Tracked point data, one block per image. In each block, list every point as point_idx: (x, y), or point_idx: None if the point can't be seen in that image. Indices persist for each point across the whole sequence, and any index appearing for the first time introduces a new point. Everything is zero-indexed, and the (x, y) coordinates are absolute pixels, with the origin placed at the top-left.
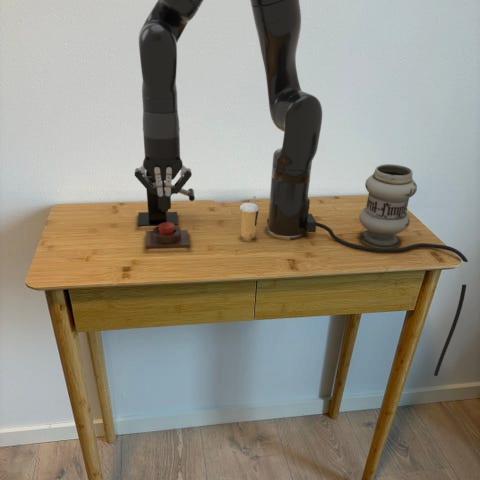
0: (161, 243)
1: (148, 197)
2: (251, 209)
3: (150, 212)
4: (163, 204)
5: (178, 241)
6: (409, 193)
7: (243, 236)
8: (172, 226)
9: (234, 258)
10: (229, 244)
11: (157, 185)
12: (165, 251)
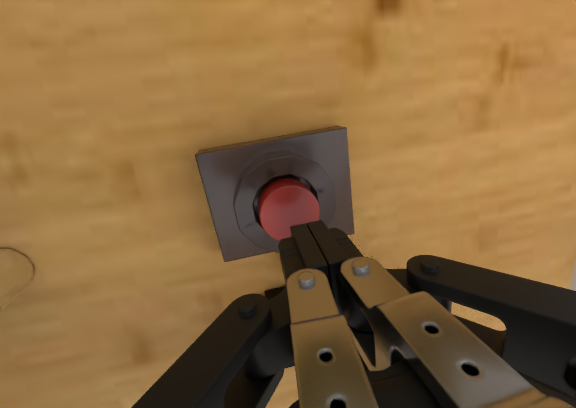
0: (295, 151)
1: None
2: None
3: None
4: (321, 236)
5: (238, 174)
6: None
7: (7, 260)
8: (265, 208)
9: (6, 111)
10: (65, 218)
11: (420, 297)
12: None
